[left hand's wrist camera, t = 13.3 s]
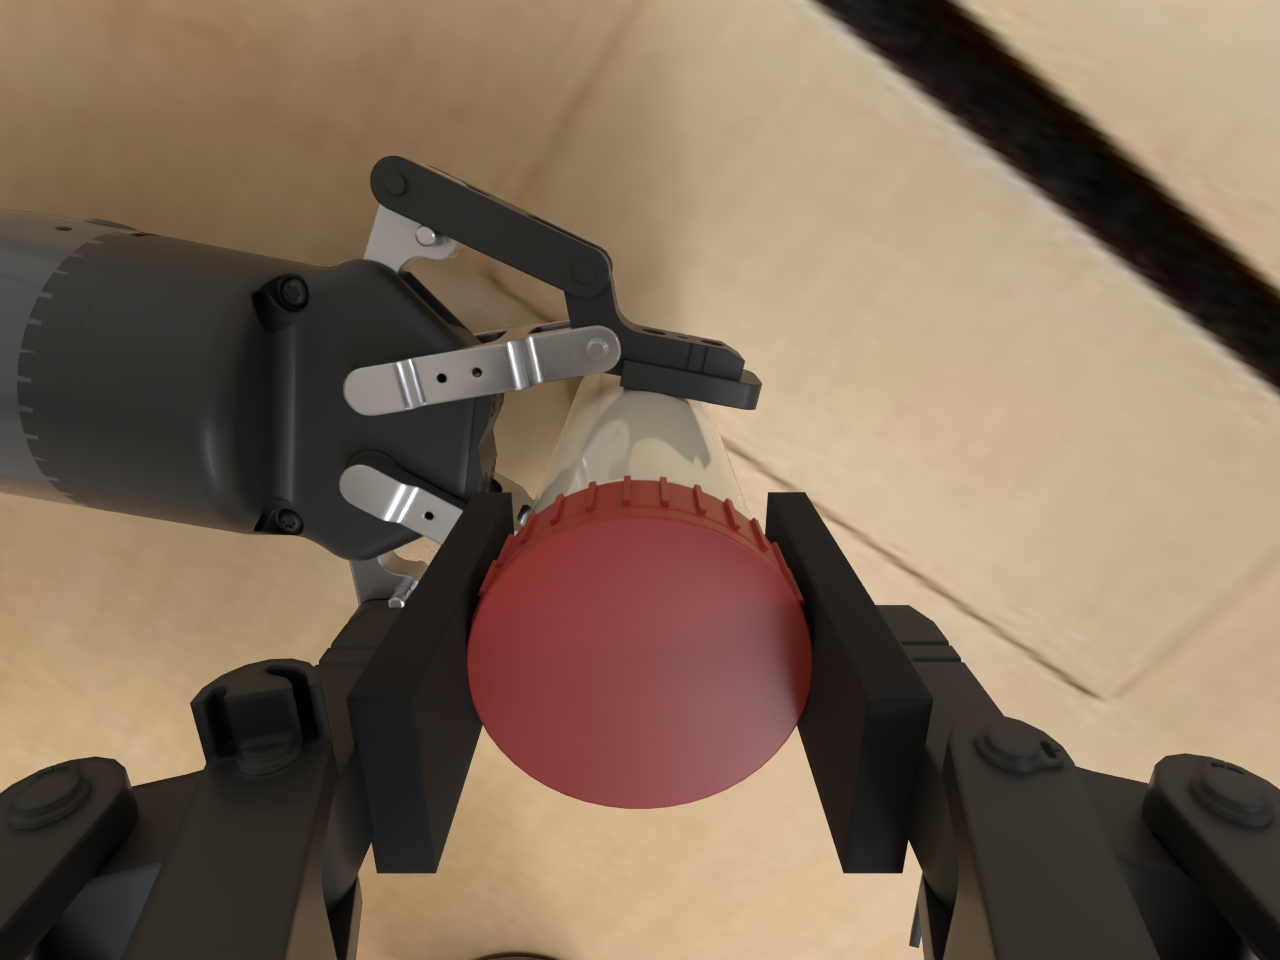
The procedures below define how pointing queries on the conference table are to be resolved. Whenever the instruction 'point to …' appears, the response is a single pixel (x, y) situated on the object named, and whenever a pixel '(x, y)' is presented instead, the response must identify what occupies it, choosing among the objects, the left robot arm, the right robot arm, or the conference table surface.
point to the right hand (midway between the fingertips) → (728, 481)
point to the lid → (639, 646)
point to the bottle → (637, 443)
